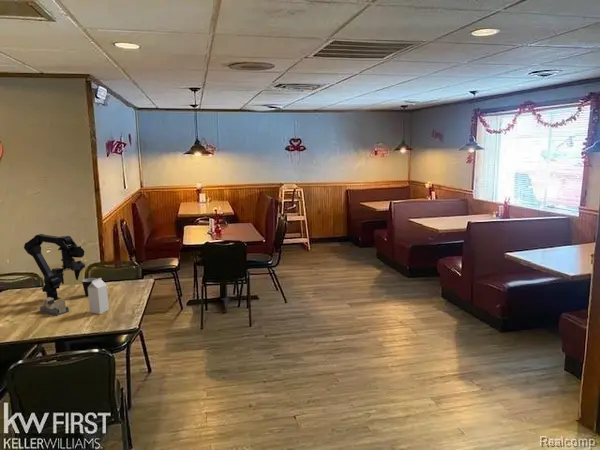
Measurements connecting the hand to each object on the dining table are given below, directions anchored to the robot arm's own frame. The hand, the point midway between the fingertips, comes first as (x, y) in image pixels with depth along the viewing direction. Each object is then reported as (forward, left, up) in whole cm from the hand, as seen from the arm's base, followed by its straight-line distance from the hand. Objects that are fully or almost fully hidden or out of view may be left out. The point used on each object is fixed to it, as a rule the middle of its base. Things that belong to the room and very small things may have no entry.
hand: (70, 281), depth 281 cm
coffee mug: (0, +14, -12) cm, 19 cm away
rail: (+9, -17, -12) cm, 23 cm away
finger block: (+4, -17, -11) cm, 21 cm away
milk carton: (+33, -5, -12) cm, 36 cm away
